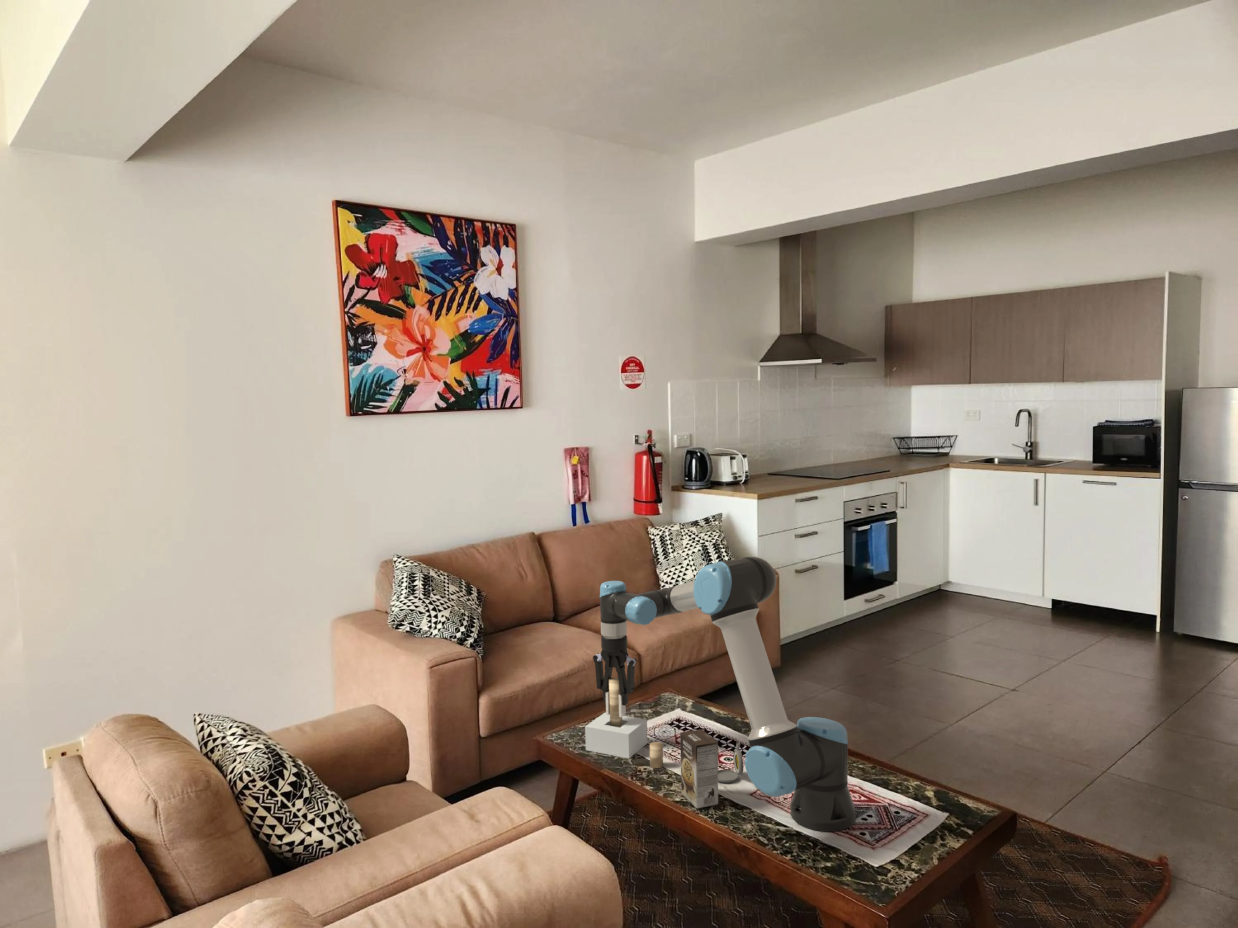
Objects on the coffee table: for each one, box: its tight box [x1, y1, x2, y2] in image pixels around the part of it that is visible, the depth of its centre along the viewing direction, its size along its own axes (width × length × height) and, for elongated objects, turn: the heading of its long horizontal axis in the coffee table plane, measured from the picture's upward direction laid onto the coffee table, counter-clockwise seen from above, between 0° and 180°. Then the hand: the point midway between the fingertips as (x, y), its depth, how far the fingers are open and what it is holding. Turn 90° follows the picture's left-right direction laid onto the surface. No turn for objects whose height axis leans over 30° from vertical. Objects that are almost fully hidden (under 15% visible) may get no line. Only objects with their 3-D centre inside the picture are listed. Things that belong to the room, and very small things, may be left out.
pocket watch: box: [718, 739, 745, 784], centre depth 223 cm, size 8×8×10 cm
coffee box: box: [679, 728, 719, 809], centre depth 212 cm, size 9×6×16 cm
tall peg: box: [609, 676, 622, 727], centre depth 245 cm, size 4×4×14 cm
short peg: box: [649, 741, 664, 769], centre depth 232 cm, size 4×4×6 cm
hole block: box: [584, 712, 648, 759], centre depth 245 cm, size 12×14×7 cm
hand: (615, 714), depth 245 cm, fingers closed on tall peg, 3 cm apart
